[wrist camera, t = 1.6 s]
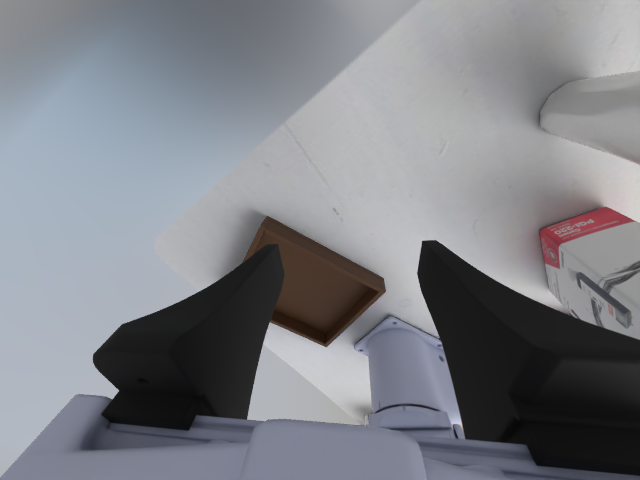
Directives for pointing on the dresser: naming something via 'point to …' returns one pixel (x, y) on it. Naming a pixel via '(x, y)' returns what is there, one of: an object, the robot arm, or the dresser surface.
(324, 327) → the tray
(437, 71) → the dresser surface
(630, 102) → the milkshake
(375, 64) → the dresser surface
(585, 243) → the ink box
